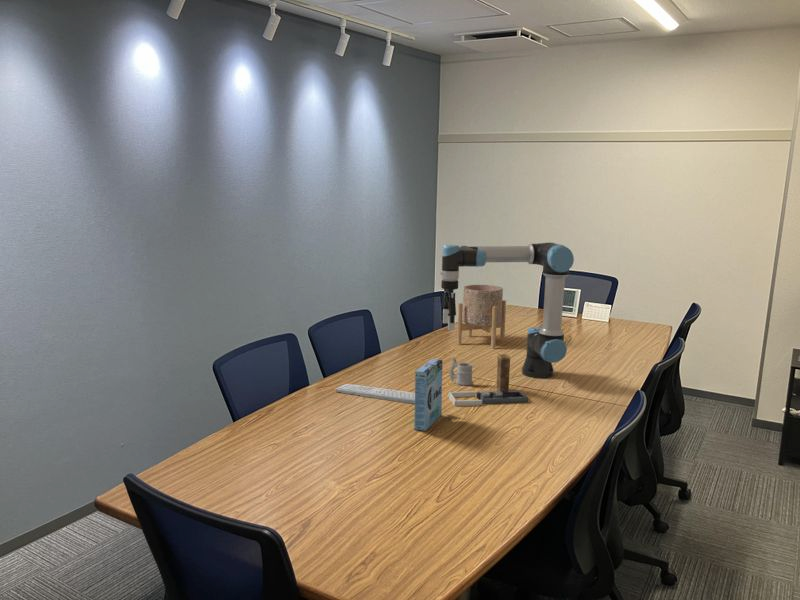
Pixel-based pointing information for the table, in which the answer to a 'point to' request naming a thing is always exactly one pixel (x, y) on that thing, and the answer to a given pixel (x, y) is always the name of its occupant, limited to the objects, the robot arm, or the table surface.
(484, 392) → the grey squarish block
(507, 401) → the dark grey open case
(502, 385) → the tan block
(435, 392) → the gum box
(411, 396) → the keyboard
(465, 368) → the mug
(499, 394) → the chip
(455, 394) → the tray
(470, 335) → the planter
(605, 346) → the table surface
